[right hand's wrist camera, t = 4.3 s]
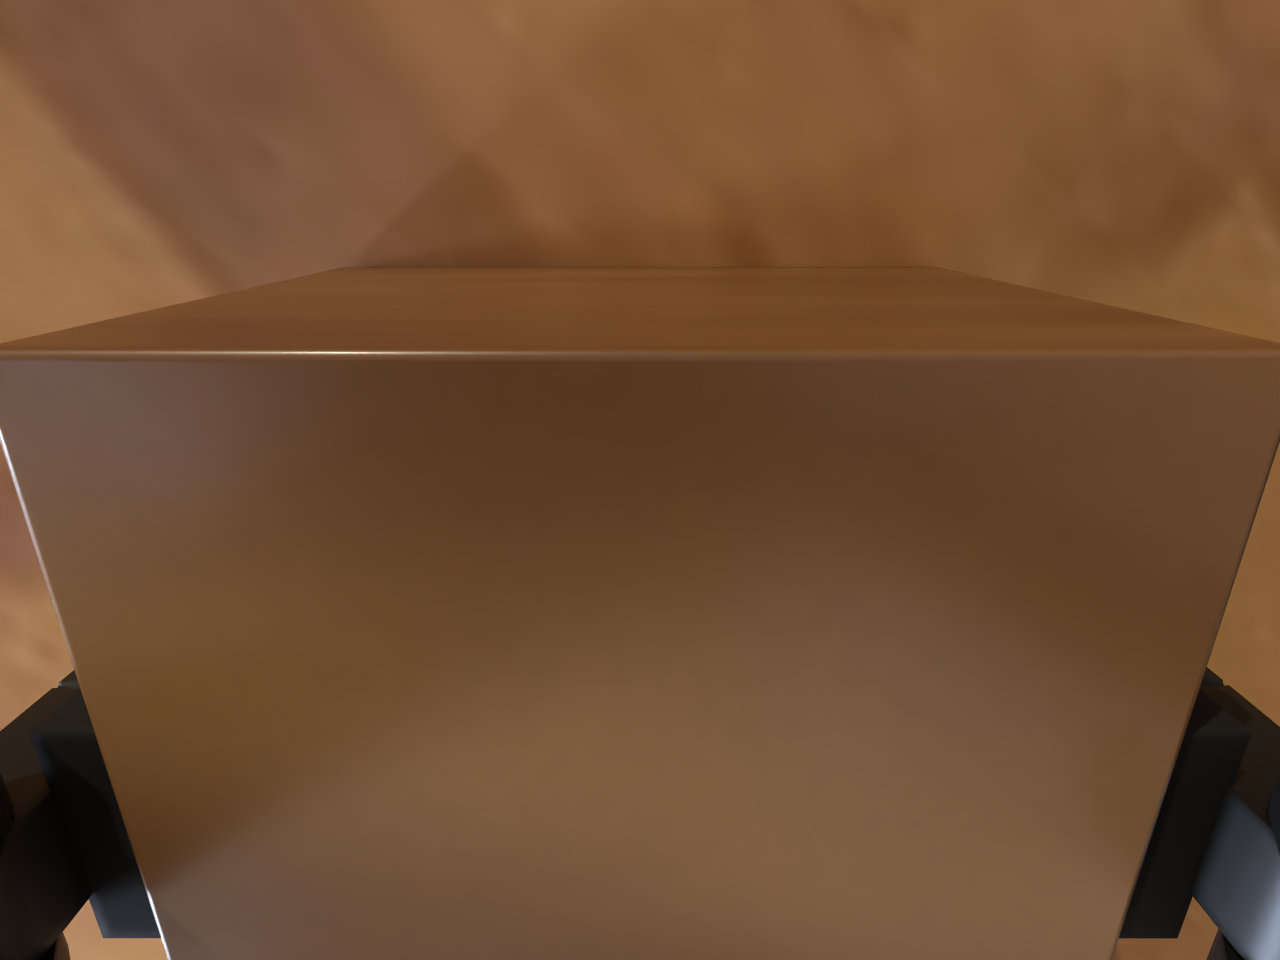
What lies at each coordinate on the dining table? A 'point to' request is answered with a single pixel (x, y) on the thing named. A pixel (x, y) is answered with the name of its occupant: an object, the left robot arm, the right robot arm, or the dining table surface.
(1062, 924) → the wide beam
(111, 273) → the dining table surface
